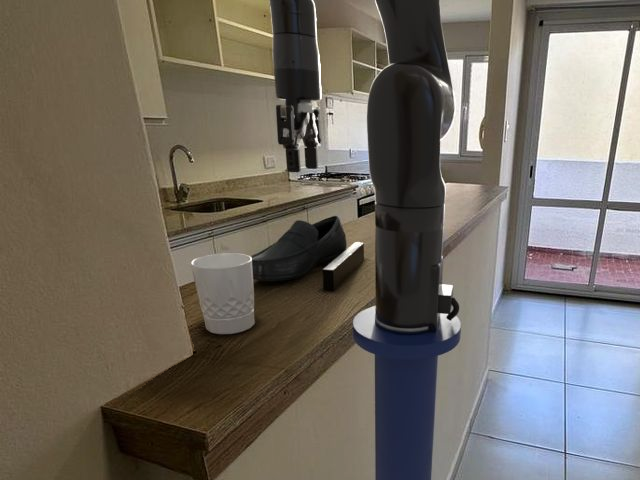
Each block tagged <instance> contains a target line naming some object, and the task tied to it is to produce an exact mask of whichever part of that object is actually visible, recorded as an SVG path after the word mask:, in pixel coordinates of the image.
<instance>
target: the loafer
mask: <svg viewBox="0 0 640 480" xmlns="http://www.w3.org/2000/svg"><path fill="white" fill-rule="evenodd" d="M347 246H348V245H347V234H346V233H345V230H344V228H343V224H342V221H341V218H340V217H339V216H338V215H332V216H330V217H326V218H324V219H321V220H319V221H317V222H314V223H310V222H308V221H305V220H303V219H297V220H295V221H294V222H293V223H292V225H290V227H289V229H287V230H286V231H285V232H284V233H283V234H282V235H281V236H280V237H279V238H278V240H277V241H275V242H274V243H273V244H270V245H269V246H268V247H266V248H265V249H262V250H260V251H259V252H256V253H254V254H252V255H249V256H250V257H251V258H252V269H253V280H256V281H262V282H281V281H291V280H297V279H299V278H302V277H303V276H305V274H307V273H308V272H309V271H310V270H311V269H312V268H313V267H316V266H322V265H323V266H327V265H329V264H330V263H331V262H332V261H333V260H335V259H336V258H337V257H338V256H339V255H341V254H342V253H343V252H344V251H345V250H347Z"/></svg>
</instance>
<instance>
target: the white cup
mask: <svg viewBox="0 0 640 480" xmlns="http://www.w3.org/2000/svg"><path fill="white" fill-rule="evenodd" d="M250 256H251V255H247V254H244V253H238V252H237V253H235V252H222V253H220V252H219V253H211V254H206V255H202V256H198V257H196V258H194V259H192V260H191V261H190V267H191V271H192V276H193V280H194V286H195V289H196V295H197V299H198V302H199V306H200V310H201V313H202V317H203V321H204V325H205V329H206V330H207V331H208V332H209V333H211V334H216V335H233V334H238V333H242V332H245V331H247V330H250V329H251V328H252V327H253V326H254V325H255V324H256V321H255V320H256V319H255V288H254V287H255V285H254V279H253V269H252V258H251V257H250Z"/></svg>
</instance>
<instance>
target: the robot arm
mask: <svg viewBox="0 0 640 480" xmlns="http://www.w3.org/2000/svg"><path fill="white" fill-rule="evenodd" d="M268 2H269V7H270V9H269V10H270V20H271V33H272V46H271V47H272V65H273V78H274V90H275V97H276V98H277V99H278V100H281V101H285V103H284V104H276V105H275V115H276V116H275V117H276V131H277V134H276V135H277V143H278V145H281V146H282V148H283V149H285V163H286V170H287V172H289V173H300V172H302V171H301V170H302V167H301V166H302V164H301V153H300V152H301V150H300V147H301V140H302V143H303V146H304V148H303V151H304V164H305V165H304V166H305V168H306V170H307V169H308V170H316V169H318V168H319V161H318V159H319V158H318V148H319V145H320V144H322V142H323V138H322V123H321V111H320V109H319V108H313V102H320V101H321V100H322V83H321V82H322V81H321V61H320V52H319V45H318V34H317V33H318V32H317V13H316V4H315V2H314V0H268ZM374 2H375V5H376V8H377V11H378V13H379V16H380V19H381V24H382V26H383V30H384V35H385V41H386V49H387V57H388V59H387V60H388V65H387V66H385V67H384V68H383V69H381V70H380V72H379V73H378V74H377V75H376V76H375V78H374V80H373V81H372V83H371V86H370V89H369V91H368V97H367V105H366V135H367V136H366V137H367V138H366V139H367V154H368V155H367V156H368V157H367V158H368V171H369V172H368V173H369V177H370V181H371V184H372V186H373V189H374V190H373V191H374V201H375V202H374V231H375V232H374V241H375V242H374V243H375V244H374V245H375V246H374V247H375V248H374V255H375V257H374V258H375V260H374V263H375V264H374V265H375V269H374V270H375V273H374V274H375V275H374V277H375V280H374V281H375V285H374V286H375V289H374V290H375V291H374V292H375V293H374V294H375V306H376V307H375V313H376V314H375V324H376V325H377V326H378V327H379V328H380V329H382V330H384V331H387V332H390V333H394V334H401V335H416V334H423V333H428V332H431V333H436V332H437V328H438V325H439V320H440V313H442V314H448V315H447V316H446V318H447V319H448V320H450V321H451V320H452V319H453V318H454V317H455V316H457V315H458V314H459V312H460V304H459V302H458V300H457V299H456V298H455V297H454V285H452V284H443V276H444V275H443V274H444V273H443V272H444V256H443V248H444V246H443V245H444V230H445V229H444V226H445V209H446V206H445V205H446V194H447V193H446V192H447V191H446V190H447V189H446V188H447V187H446V183H445V181H444V178H443V177H442V171H441V141H442V140H443V139H445V137H446V136H447V135H448V133H449V132H450V130H451V128H452V126H453V123H454V121H455V120H454V119H455V117H456V96H455V91H454V90H455V89H454V86H453V81H452V76H451V70H450V66H449V60H448V54H447V51H446V50H447V49H446V43H445V37H444V31H443V26H442V25H443V24H442V13H441V0H374Z"/></svg>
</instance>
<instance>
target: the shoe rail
mask: <svg viewBox="0 0 640 480" xmlns="http://www.w3.org/2000/svg"><path fill="white" fill-rule="evenodd" d="M364 260H365V242H360V241H355V242H354V243H353V244H351V245H350V246H349V247H348V248H346V250H345V251H344V252H343V253H342V254H341V255H339V256H338V257H337V258H336V259H335V260H333V261H332V262H331V263H329V264H326V265H325V267H324V268H322V285H323V291H326V292H327V291H328V292H330V291H331V292H334V291H335V290H336V289H337V288H339V286H341V285H342V284H343V282H345V281H346V279H347V278H348V277H349V276H350V275H351V274H352V273H353V272H354V271H355V270H356V269H357V268H358V267H359V266H360V265H361V264H362V263H363V261H364Z"/></svg>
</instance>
